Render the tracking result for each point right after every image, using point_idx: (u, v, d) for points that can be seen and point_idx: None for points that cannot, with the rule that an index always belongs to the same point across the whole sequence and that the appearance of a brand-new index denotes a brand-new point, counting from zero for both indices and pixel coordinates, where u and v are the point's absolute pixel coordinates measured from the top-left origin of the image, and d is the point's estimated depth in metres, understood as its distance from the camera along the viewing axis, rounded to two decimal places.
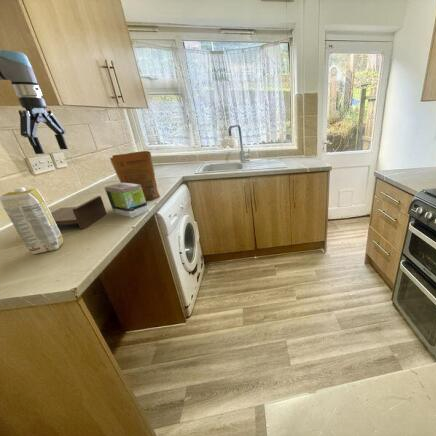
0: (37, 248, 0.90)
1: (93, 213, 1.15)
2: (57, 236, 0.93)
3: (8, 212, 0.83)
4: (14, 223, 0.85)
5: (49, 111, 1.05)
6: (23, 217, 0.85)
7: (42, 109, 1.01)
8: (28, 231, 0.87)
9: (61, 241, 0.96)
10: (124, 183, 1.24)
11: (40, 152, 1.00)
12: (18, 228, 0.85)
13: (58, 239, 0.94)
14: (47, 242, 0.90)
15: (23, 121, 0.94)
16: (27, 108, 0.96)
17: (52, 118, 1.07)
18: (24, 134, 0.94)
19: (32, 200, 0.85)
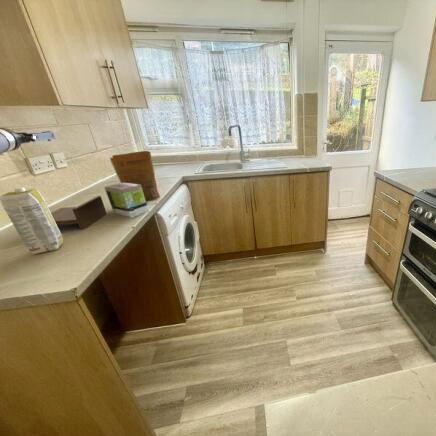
0: (37, 248, 0.90)
1: (93, 213, 1.15)
2: (57, 236, 0.93)
3: (8, 212, 0.83)
4: (14, 223, 0.85)
5: (31, 139, 0.86)
6: (23, 217, 0.85)
7: None
8: (28, 231, 0.87)
9: (61, 241, 0.96)
10: (124, 183, 1.24)
11: None
12: (18, 228, 0.85)
13: (58, 239, 0.94)
14: (47, 242, 0.90)
15: None
16: None
17: None
18: None
19: (31, 200, 0.85)
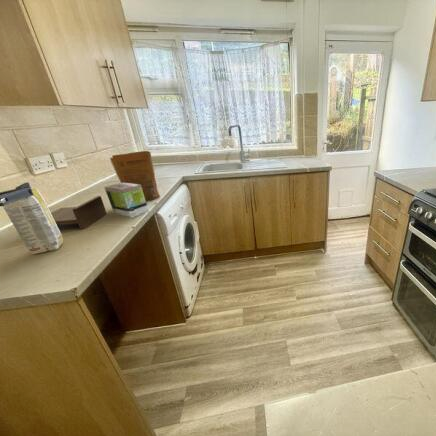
0: (37, 248, 0.90)
1: (93, 213, 1.15)
2: (57, 236, 0.93)
3: (8, 212, 0.83)
4: (14, 223, 0.85)
5: None
6: (23, 217, 0.85)
7: None
8: (28, 231, 0.87)
9: (61, 241, 0.96)
10: (124, 183, 1.24)
11: None
12: (18, 228, 0.85)
13: (58, 239, 0.94)
14: (47, 242, 0.90)
15: None
16: None
17: None
18: None
19: (31, 200, 0.85)
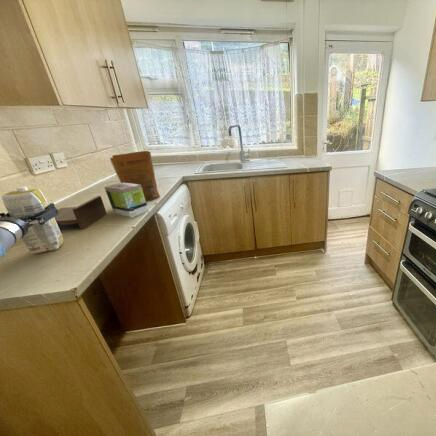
0: (37, 247, 0.90)
1: (93, 213, 1.15)
2: (57, 236, 0.93)
3: (10, 211, 0.83)
4: None
5: (39, 223, 0.81)
6: None
7: None
8: (29, 230, 0.87)
9: (61, 241, 0.96)
10: (124, 183, 1.24)
11: None
12: None
13: (59, 239, 0.94)
14: (47, 242, 0.90)
15: None
16: None
17: None
18: None
19: (34, 199, 0.85)
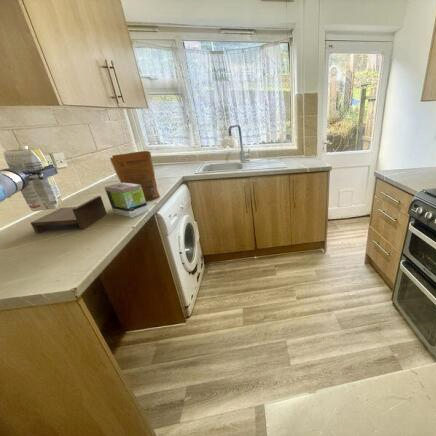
0: (38, 205, 0.94)
1: (93, 213, 1.15)
2: (56, 195, 0.97)
3: (11, 168, 0.87)
4: None
5: (39, 178, 0.85)
6: None
7: None
8: (29, 187, 0.91)
9: (60, 202, 1.00)
10: (124, 183, 1.24)
11: None
12: None
13: (58, 199, 0.98)
14: (47, 200, 0.94)
15: None
16: None
17: None
18: None
19: (34, 157, 0.89)
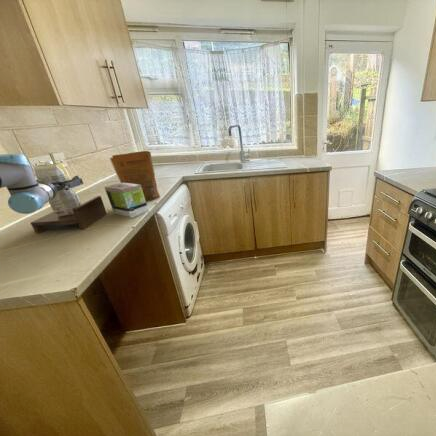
0: (62, 211, 1.10)
1: (93, 213, 1.15)
2: (77, 202, 1.13)
3: (40, 180, 1.03)
4: None
5: (65, 188, 1.00)
6: None
7: None
8: (55, 196, 1.07)
9: None
10: (124, 183, 1.24)
11: None
12: None
13: (78, 205, 1.14)
14: (69, 206, 1.10)
15: None
16: None
17: None
18: None
19: (58, 170, 1.05)
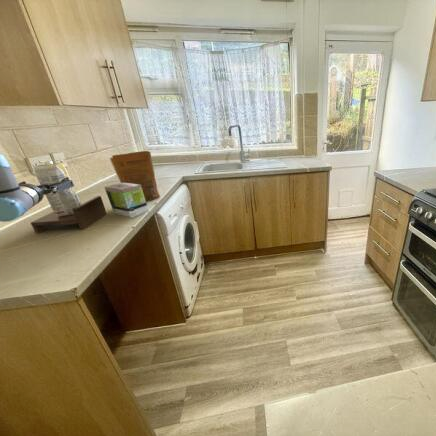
0: (62, 211, 1.10)
1: (93, 213, 1.15)
2: (77, 202, 1.13)
3: (40, 180, 1.03)
4: None
5: (52, 192, 0.90)
6: None
7: None
8: (55, 196, 1.07)
9: None
10: (124, 183, 1.24)
11: None
12: (47, 194, 1.05)
13: (78, 205, 1.14)
14: (69, 206, 1.10)
15: None
16: None
17: None
18: None
19: (58, 170, 1.05)
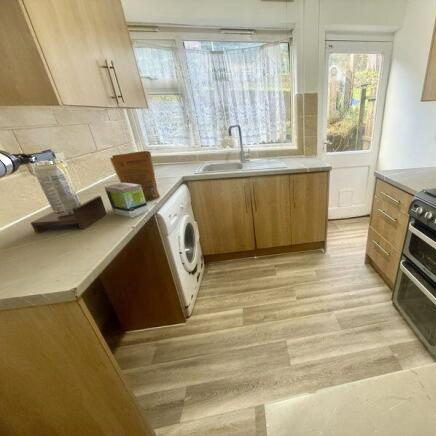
0: (62, 211, 1.10)
1: (93, 213, 1.15)
2: (77, 202, 1.13)
3: (40, 180, 1.03)
4: (44, 189, 1.05)
5: (30, 161, 0.80)
6: (51, 184, 1.05)
7: None
8: (55, 196, 1.07)
9: None
10: (124, 183, 1.24)
11: None
12: (47, 194, 1.05)
13: (78, 205, 1.14)
14: (69, 206, 1.10)
15: None
16: None
17: None
18: None
19: (58, 170, 1.05)
